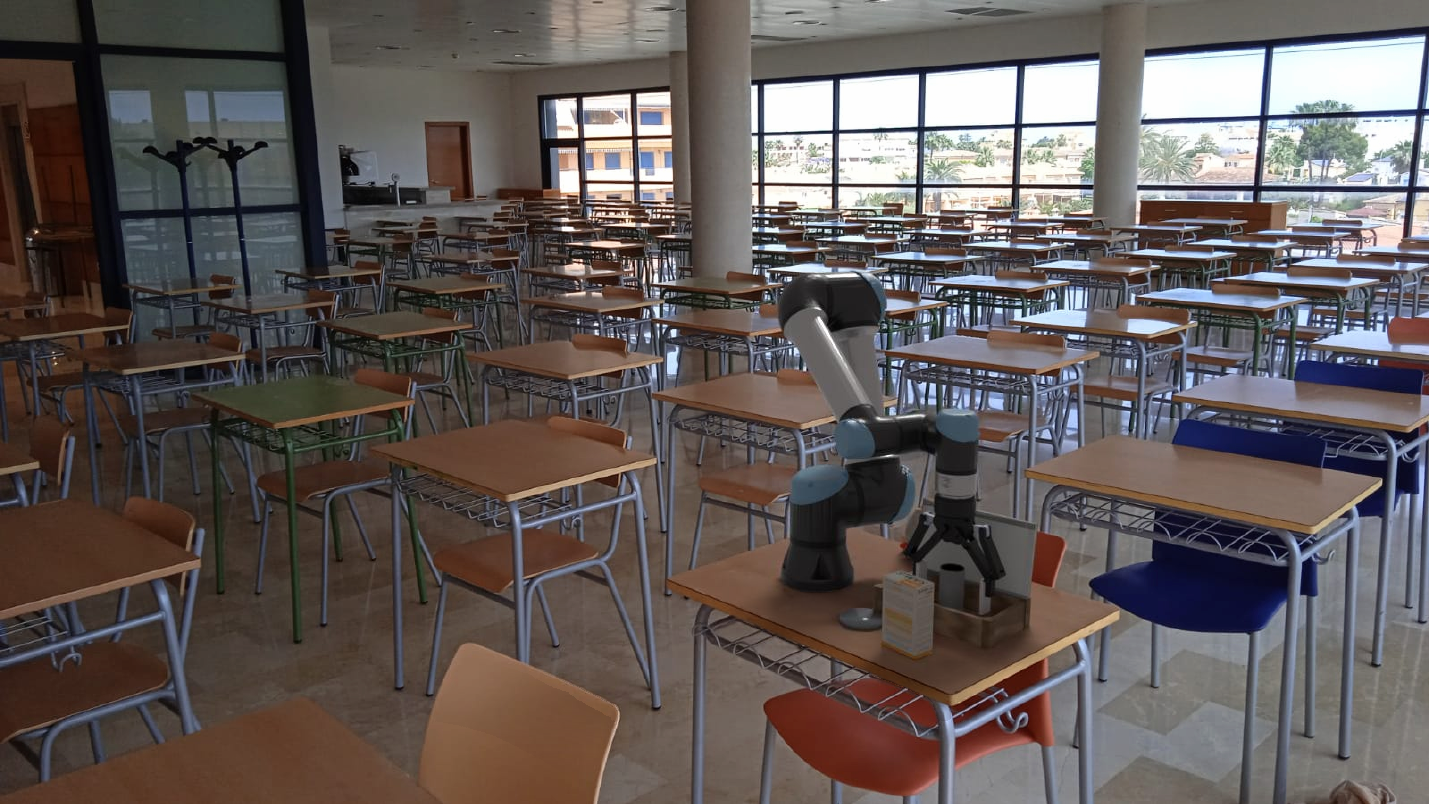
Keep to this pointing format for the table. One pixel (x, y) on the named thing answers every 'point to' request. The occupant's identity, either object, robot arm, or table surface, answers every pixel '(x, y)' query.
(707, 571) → the table surface
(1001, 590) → the lid
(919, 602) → the supplement box
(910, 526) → the figurine
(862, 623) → the saucer
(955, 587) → the grey cylindrical cup
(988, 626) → the cold frame
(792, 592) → the table surface
